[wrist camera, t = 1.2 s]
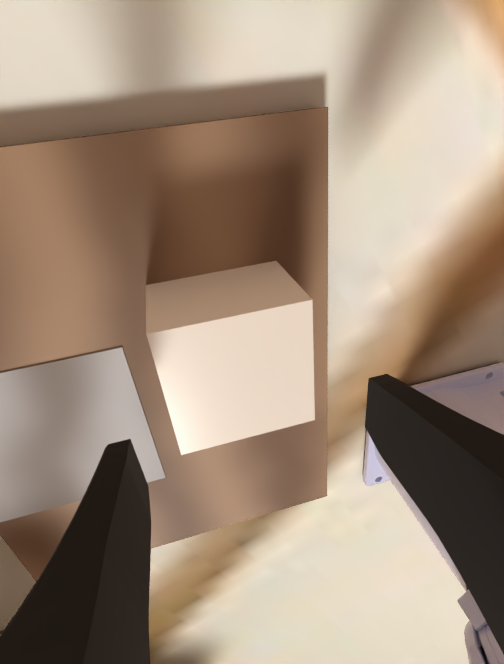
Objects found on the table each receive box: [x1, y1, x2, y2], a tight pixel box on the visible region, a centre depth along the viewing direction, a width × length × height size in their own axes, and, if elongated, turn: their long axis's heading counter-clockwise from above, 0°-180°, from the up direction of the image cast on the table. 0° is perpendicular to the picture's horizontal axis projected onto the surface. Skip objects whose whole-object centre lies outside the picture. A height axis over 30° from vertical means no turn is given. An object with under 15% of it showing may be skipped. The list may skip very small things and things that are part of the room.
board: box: [0, 107, 328, 581], centre depth 18 cm, size 18×22×1 cm
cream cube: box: [146, 261, 315, 455], centre depth 15 cm, size 5×5×4 cm
